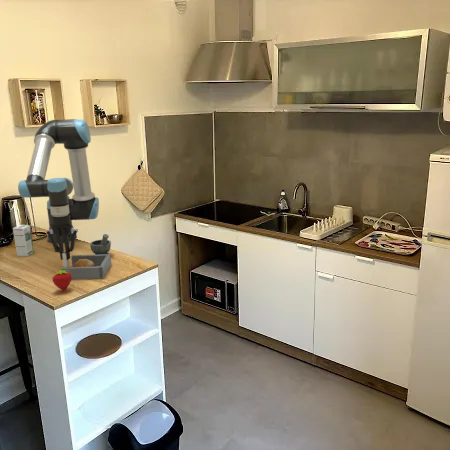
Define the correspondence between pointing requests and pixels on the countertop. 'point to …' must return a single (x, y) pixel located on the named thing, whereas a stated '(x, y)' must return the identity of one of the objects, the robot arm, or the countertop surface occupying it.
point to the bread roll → (84, 263)
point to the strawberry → (62, 279)
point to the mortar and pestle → (101, 245)
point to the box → (90, 272)
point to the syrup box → (23, 240)
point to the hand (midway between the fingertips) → (66, 266)
